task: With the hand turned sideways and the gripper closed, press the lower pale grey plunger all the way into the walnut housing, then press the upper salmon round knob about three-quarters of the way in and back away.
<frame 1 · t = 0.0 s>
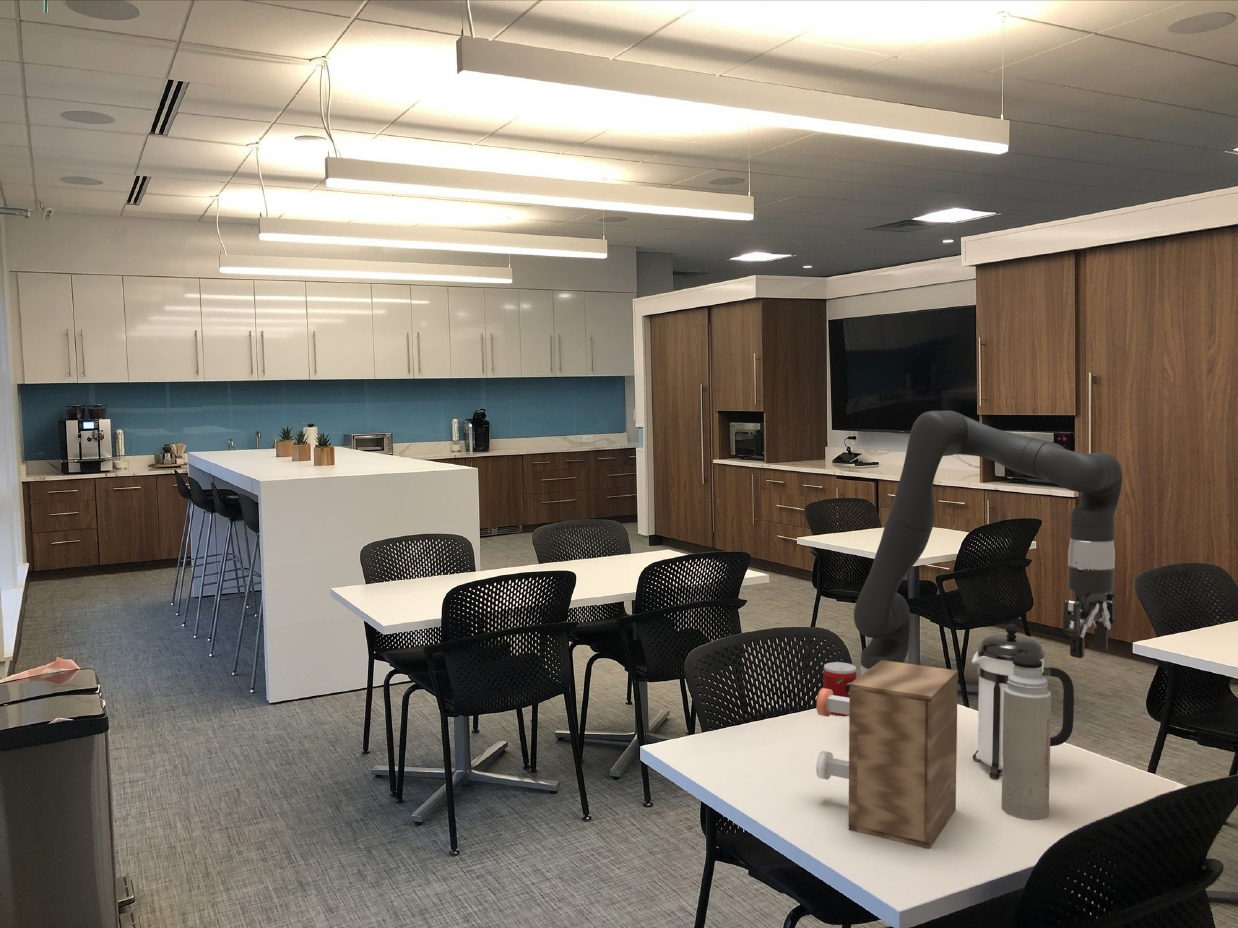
hand: (1088, 653, 174), 29 cm above the table, tool pointing down, fingers open, 8 cm apart
thermos bottle: (1024, 811, 177), on the table
housing: (865, 810, 177), on the table
canned food: (839, 711, 234), on the table
salmon round knob: (856, 707, 177), point 19 cm above the table, slide at 0.0 cm
coffee press: (1014, 769, 197), on the table
grey plunger: (856, 771, 178), point 7 cm above the table, slide at 0.0 cm
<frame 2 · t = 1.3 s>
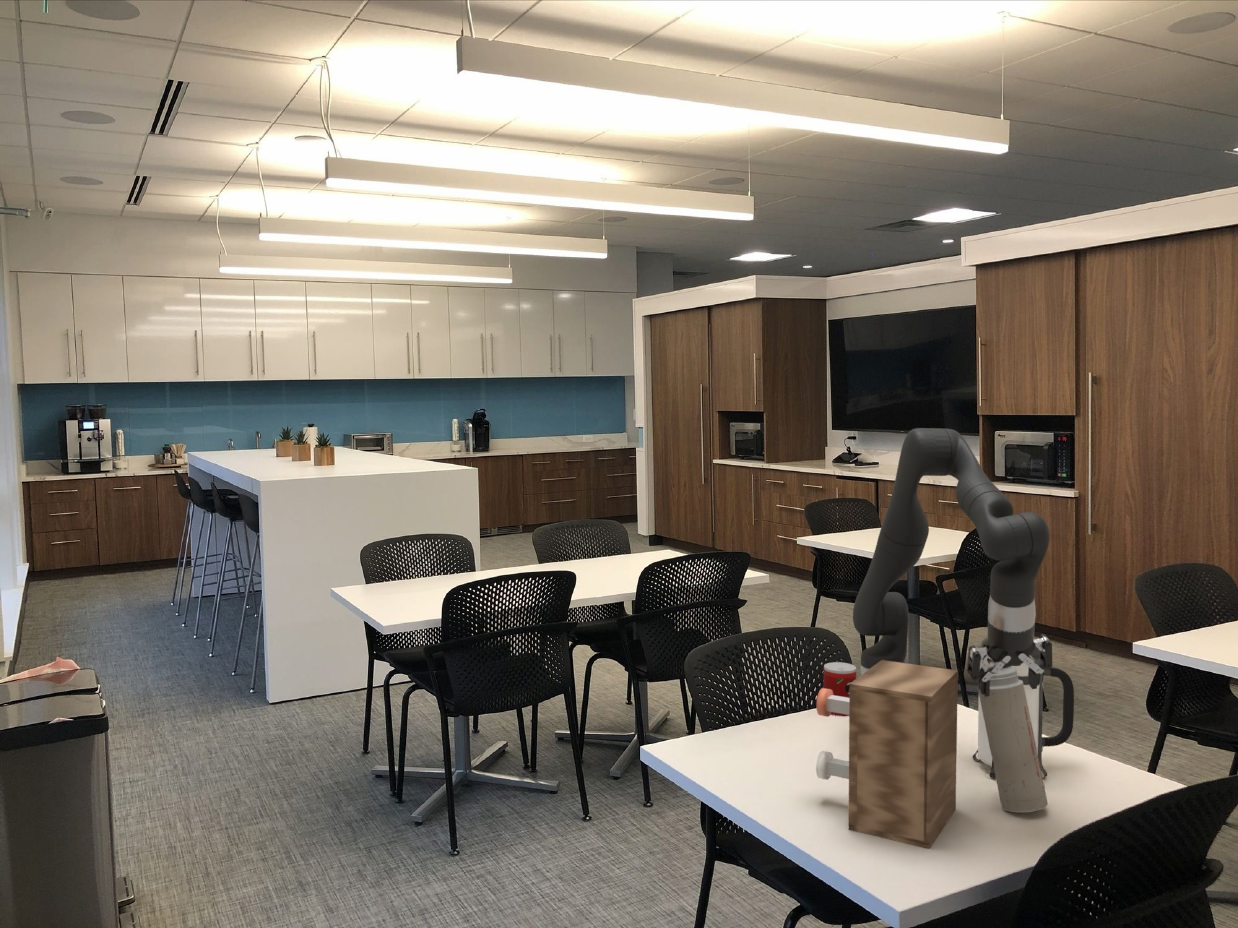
hand: (1008, 689, 174), 23 cm above the table, tool tilted 25°, fingers open, 8 cm apart
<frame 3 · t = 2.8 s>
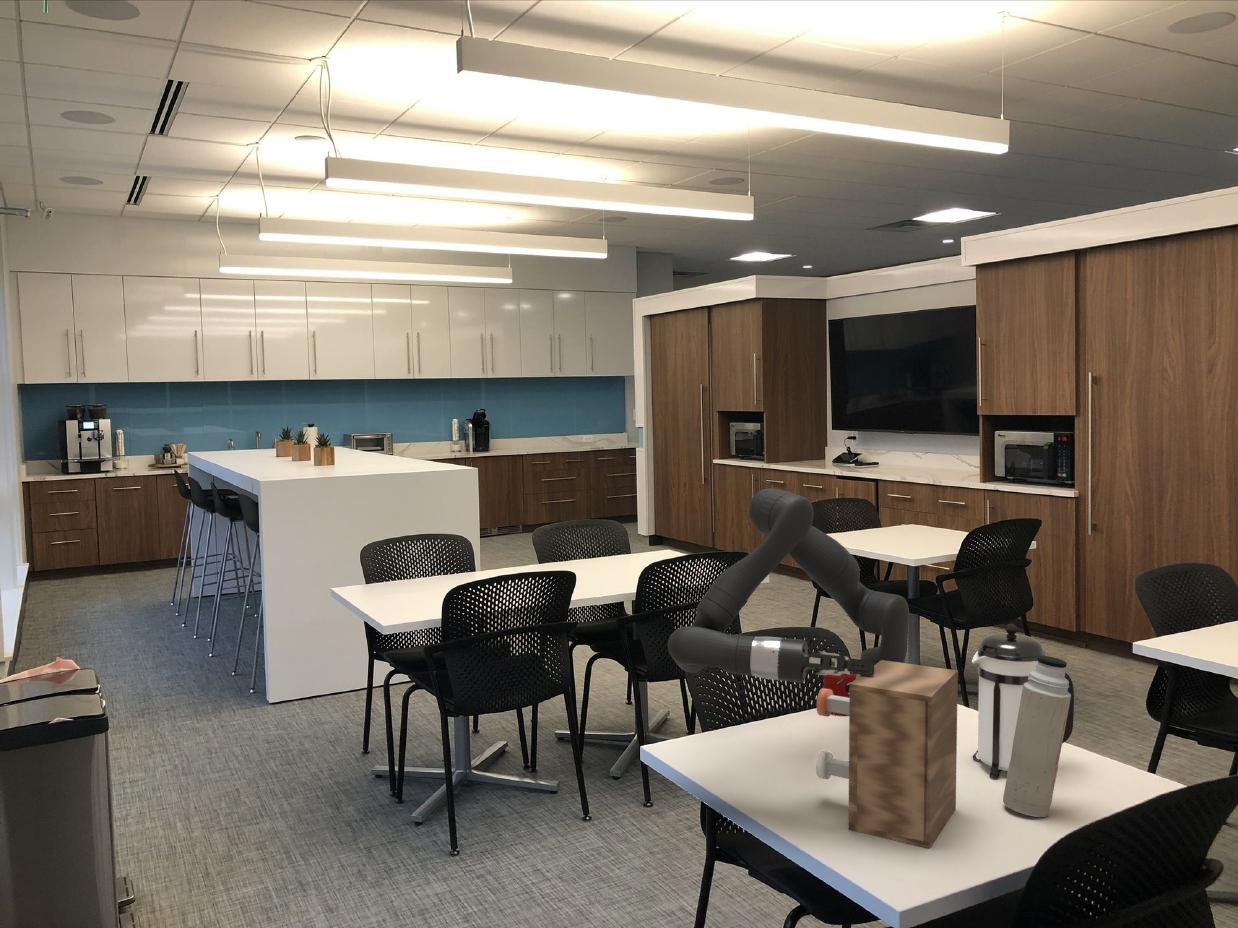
hand: (872, 668, 168), 28 cm above the table, tool horizontal, fingers open, 7 cm apart
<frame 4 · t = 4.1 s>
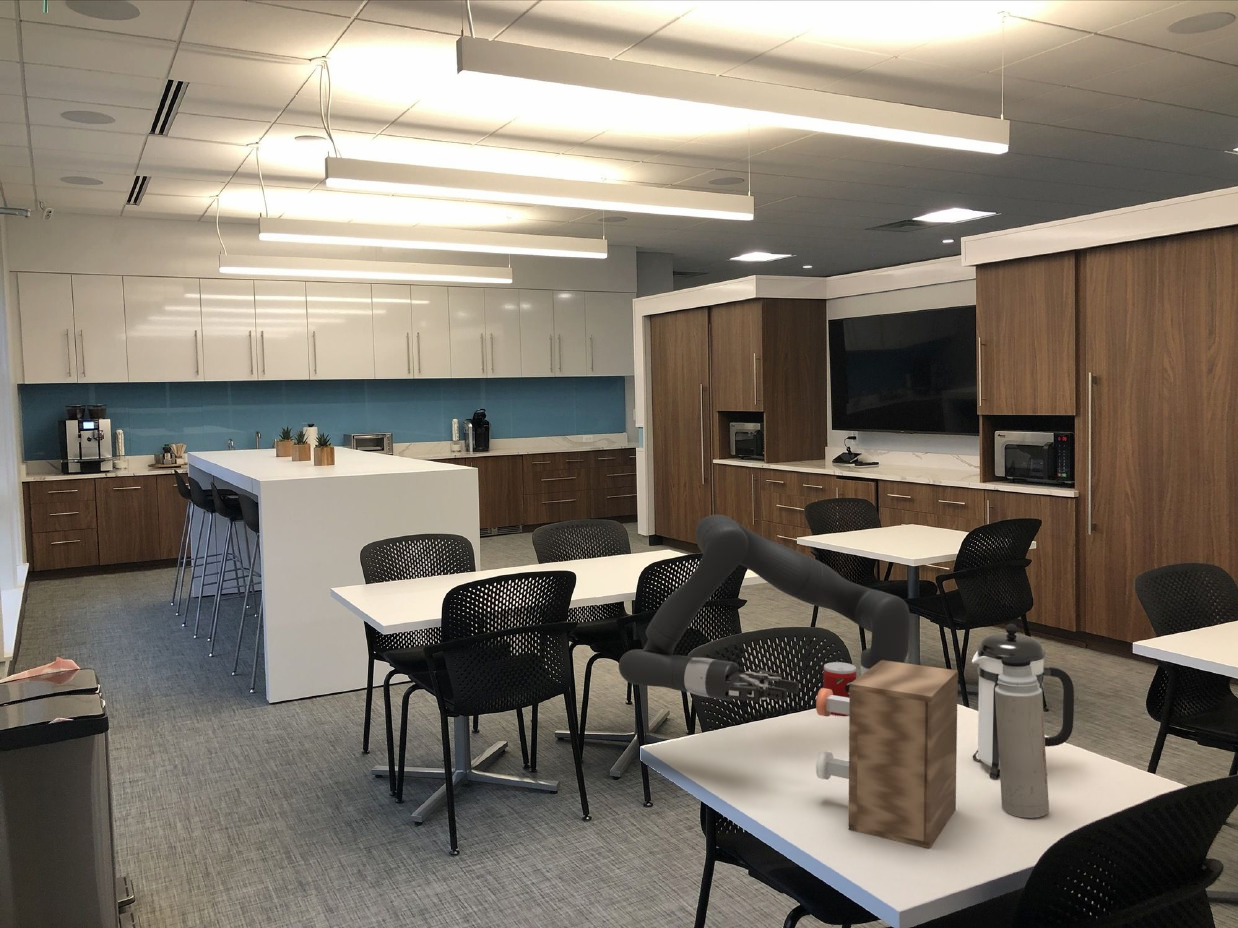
hand: (791, 691, 184), 20 cm above the table, tool horizontal, fingers open, 5 cm apart
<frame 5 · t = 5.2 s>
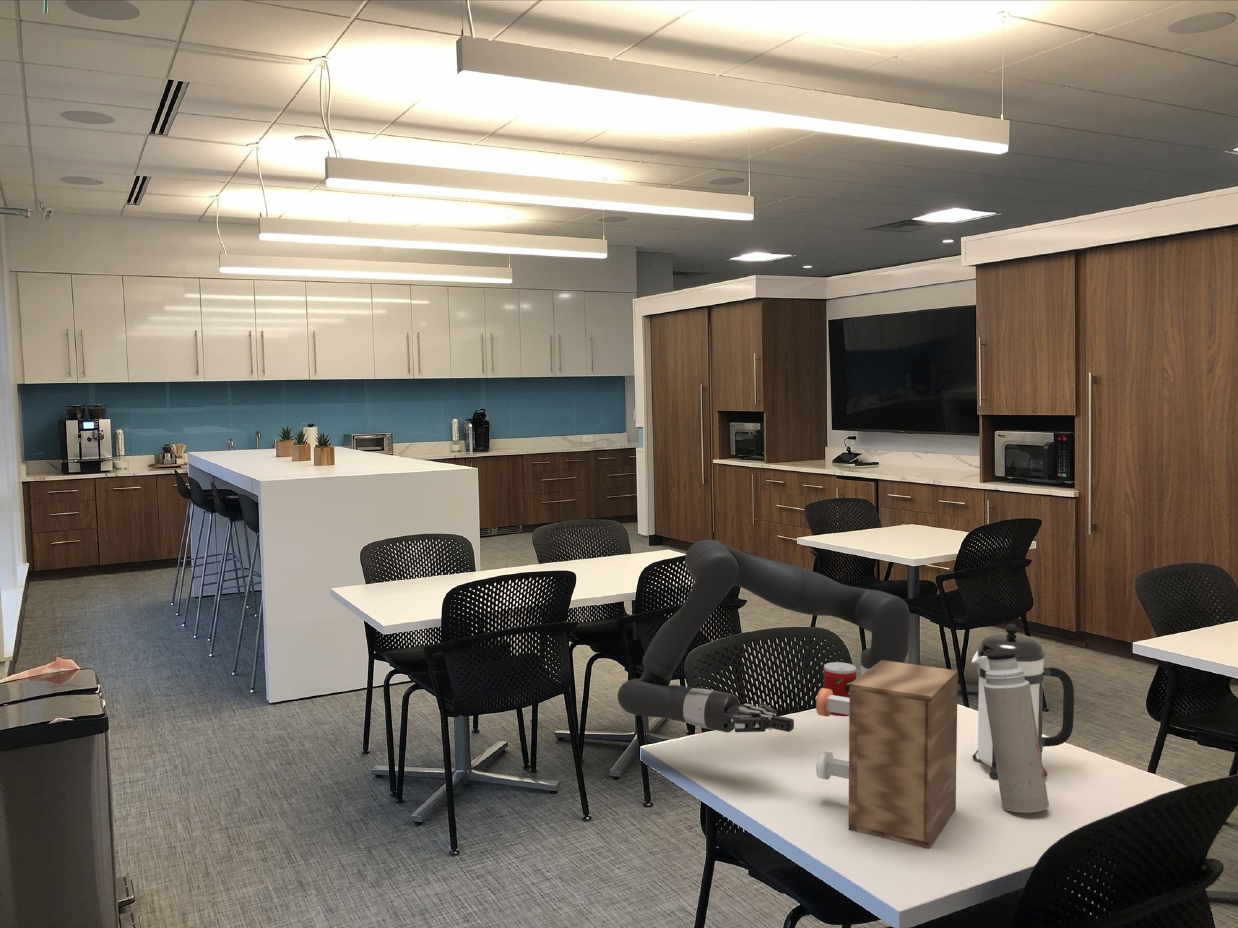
hand: (792, 725, 184), 13 cm above the table, tool horizontal, fingers closed
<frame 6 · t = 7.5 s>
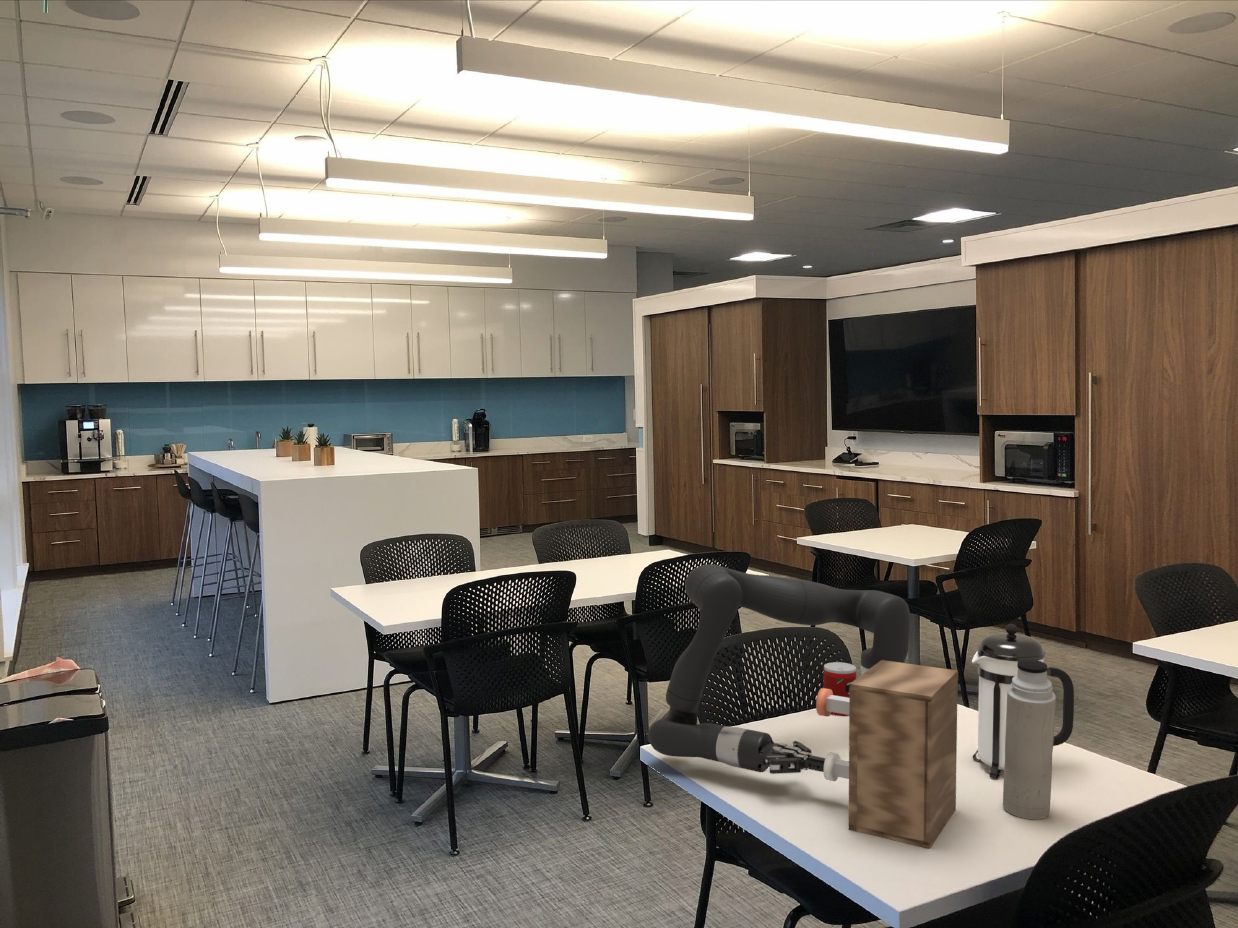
hand: (828, 765, 181), 7 cm above the table, tool horizontal, fingers closed
grey plunger: (863, 772, 177), point 7 cm above the table, slide at 1.4 cm, touching gripper
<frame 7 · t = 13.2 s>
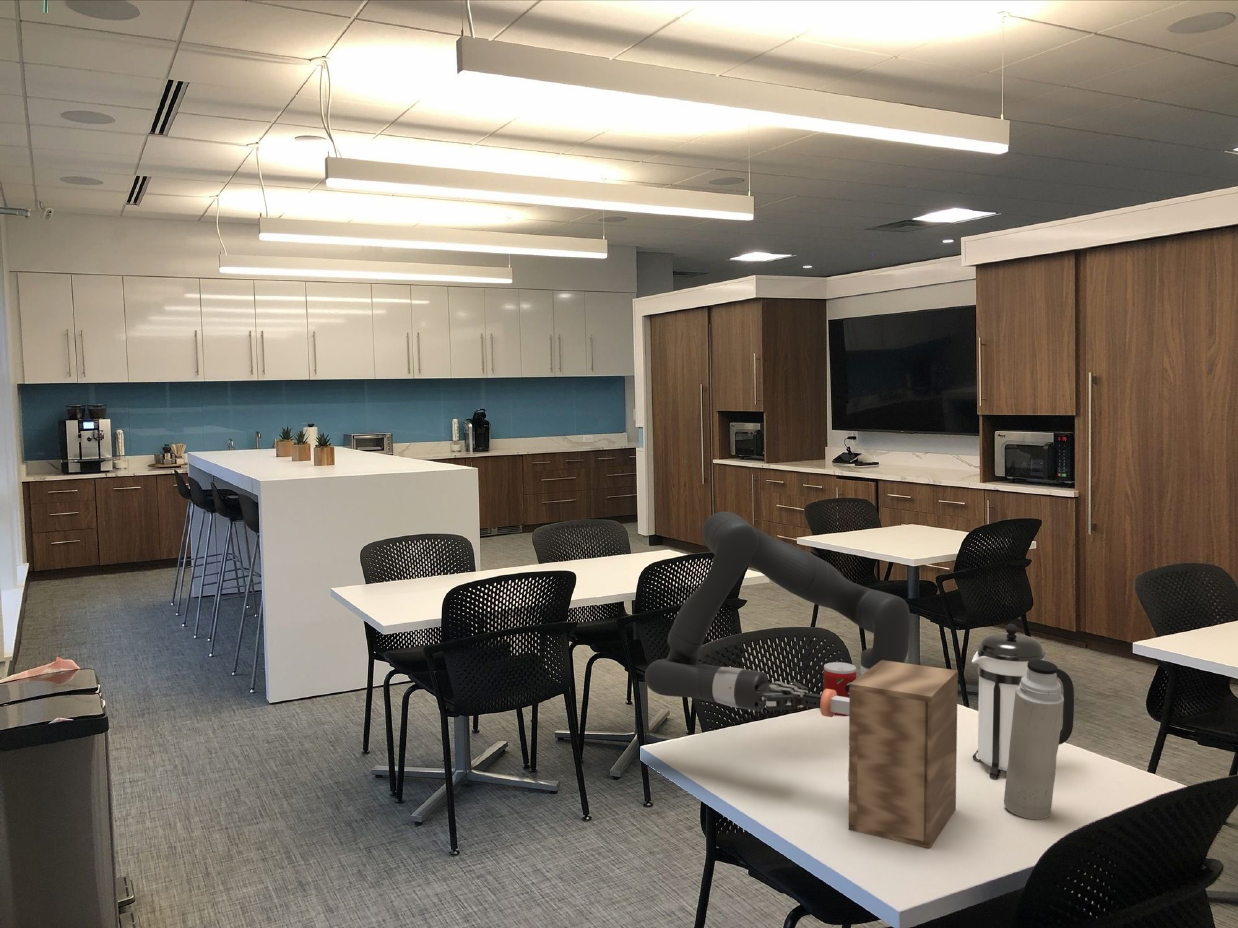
hand: (825, 702, 180), 19 cm above the table, tool horizontal, fingers closed
salmon round knob: (860, 708, 176), point 19 cm above the table, slide at 0.7 cm, touching gripper
grey plunger: (888, 778, 174), point 7 cm above the table, slide at 6.1 cm
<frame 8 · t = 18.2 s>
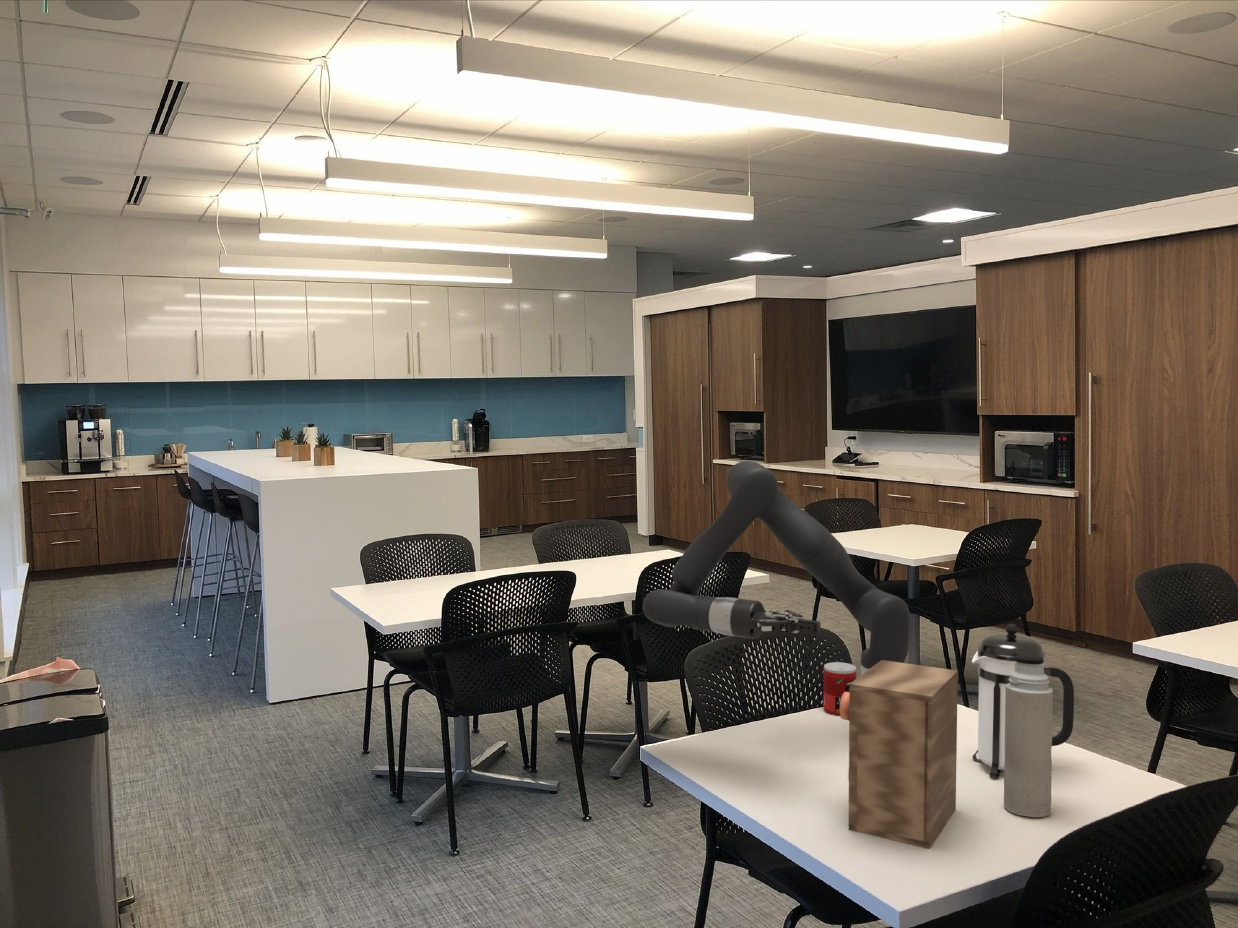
hand: (819, 627, 184), 32 cm above the table, tool horizontal, fingers closed
salmon round knob: (880, 711, 174), point 19 cm above the table, slide at 4.4 cm
at the end: grey plunger slide at 6.1 cm; salmon round knob slide at 4.4 cm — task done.
